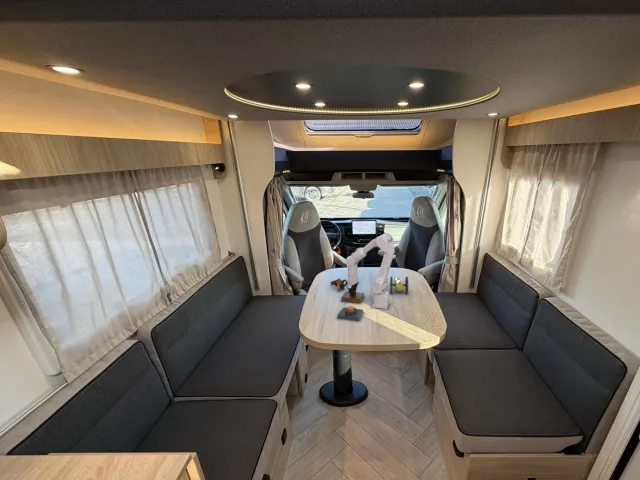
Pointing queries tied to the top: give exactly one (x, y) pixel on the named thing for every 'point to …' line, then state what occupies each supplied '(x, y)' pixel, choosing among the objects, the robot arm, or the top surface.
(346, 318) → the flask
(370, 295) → the top surface
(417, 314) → the top surface
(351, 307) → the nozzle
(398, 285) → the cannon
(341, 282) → the brown angular figurine
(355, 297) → the base
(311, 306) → the top surface
